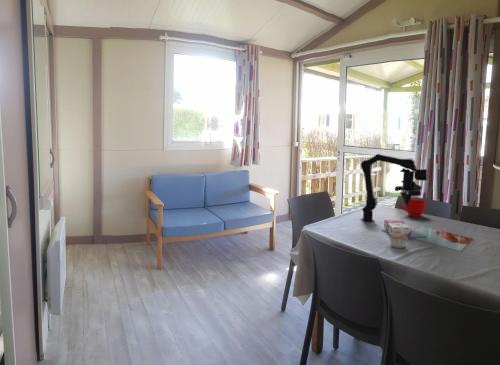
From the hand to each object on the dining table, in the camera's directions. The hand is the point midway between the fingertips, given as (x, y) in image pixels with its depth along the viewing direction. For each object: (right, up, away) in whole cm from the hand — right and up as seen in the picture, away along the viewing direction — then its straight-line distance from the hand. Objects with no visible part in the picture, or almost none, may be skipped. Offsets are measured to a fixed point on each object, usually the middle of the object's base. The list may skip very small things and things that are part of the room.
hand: (406, 204), depth 241 cm
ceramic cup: (+14, -9, +25) cm, 30 cm away
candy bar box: (-11, -11, -7) cm, 17 cm away
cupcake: (-20, -20, -39) cm, 48 cm away
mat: (-8, -16, -17) cm, 25 cm away
